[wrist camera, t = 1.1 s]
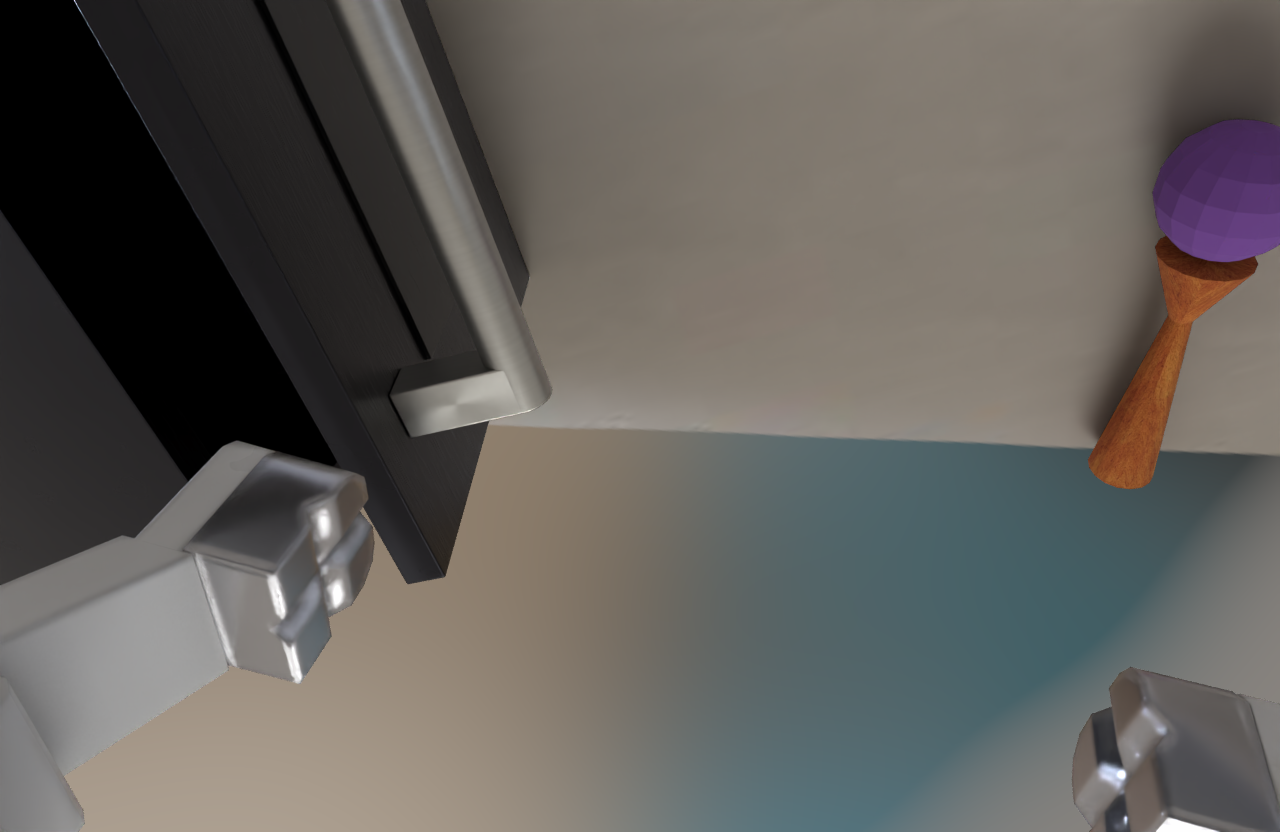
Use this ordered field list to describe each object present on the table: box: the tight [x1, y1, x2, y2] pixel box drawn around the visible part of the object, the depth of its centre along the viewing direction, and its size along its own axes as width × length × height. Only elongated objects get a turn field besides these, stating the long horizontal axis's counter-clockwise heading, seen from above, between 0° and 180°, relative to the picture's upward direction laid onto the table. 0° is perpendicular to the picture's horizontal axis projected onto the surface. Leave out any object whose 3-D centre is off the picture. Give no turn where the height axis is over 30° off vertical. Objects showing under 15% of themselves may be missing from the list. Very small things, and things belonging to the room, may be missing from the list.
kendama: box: [1088, 119, 1280, 489], centre depth 46 cm, size 6×6×20 cm
